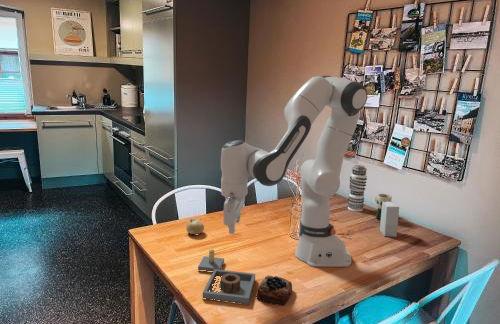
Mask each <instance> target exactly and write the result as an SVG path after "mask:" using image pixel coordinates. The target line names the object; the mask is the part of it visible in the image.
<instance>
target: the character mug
mask: <svg viewBox="0 0 500 324" xmlns="http://www.w3.org/2000/svg"><path fill="white" fill-rule="evenodd" d="M392 198H393V197H392V195H391V194H387V193H378V194H377V195H376V196H375V199H374V202H375V203H376V204H375V205H376V207H377V211H376V213H375V219H378V220H380V221H381V211H382V202H393V201H392Z"/></svg>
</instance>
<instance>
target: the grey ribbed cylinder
mask: <svg viewBox="0 0 500 324" xmlns="http://www.w3.org/2000/svg"><path fill="white" fill-rule="evenodd" d="M367 170H368V169H367V168H366V167H365V166H364V165H361V164H356V165H354V166H353V167H351V176H349V195H348V199H347V200H348V202H347V209H348V210H350V211H352V212H362V211H363V210H364V205H365V204H364V202H365V190H366V186H367V184H366V183H367V180H368V178H367V177H368V176H367Z"/></svg>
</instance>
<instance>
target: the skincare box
mask: <svg viewBox="0 0 500 324" xmlns="http://www.w3.org/2000/svg"><path fill="white" fill-rule="evenodd" d="M399 214H400V206H399V205H398V204H397V203H395V202H394V201H392V202H382V211H381V220H380V225H379V231H380V232H381V233H382V234H383V236H384V237H391V238H397V236H398V235H397V234H398V225H399V216H400V215H399Z"/></svg>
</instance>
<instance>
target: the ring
mask: <svg viewBox="0 0 500 324" xmlns="http://www.w3.org/2000/svg"><path fill="white" fill-rule="evenodd" d="M220 288H221V290H222V291H223V292H225V293H235V292H238V290H239V289H240V276H238V275H237V274H236V275H235V274H233V273H229V274H228V273H227V274H224V275H223V276H222V277H221V283H220Z"/></svg>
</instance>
